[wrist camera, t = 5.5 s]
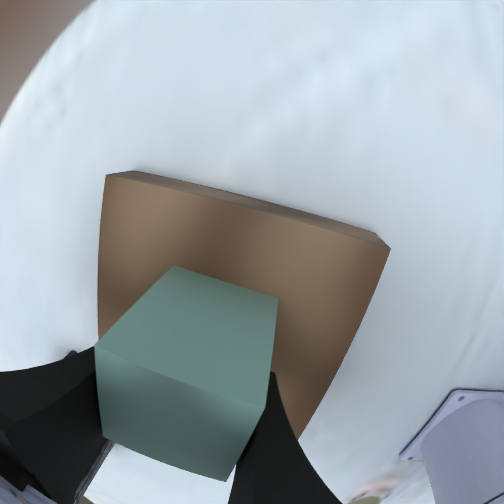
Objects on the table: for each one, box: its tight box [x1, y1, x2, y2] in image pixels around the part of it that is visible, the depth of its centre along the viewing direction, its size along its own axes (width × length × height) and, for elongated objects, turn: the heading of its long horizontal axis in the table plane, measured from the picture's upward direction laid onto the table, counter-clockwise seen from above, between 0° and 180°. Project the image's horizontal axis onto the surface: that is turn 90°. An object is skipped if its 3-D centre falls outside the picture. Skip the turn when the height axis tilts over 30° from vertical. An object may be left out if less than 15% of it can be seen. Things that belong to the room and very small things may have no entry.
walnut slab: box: [98, 171, 391, 440], centre depth 14 cm, size 12×12×2 cm
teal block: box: [94, 265, 279, 482], centre depth 10 cm, size 4×4×6 cm
